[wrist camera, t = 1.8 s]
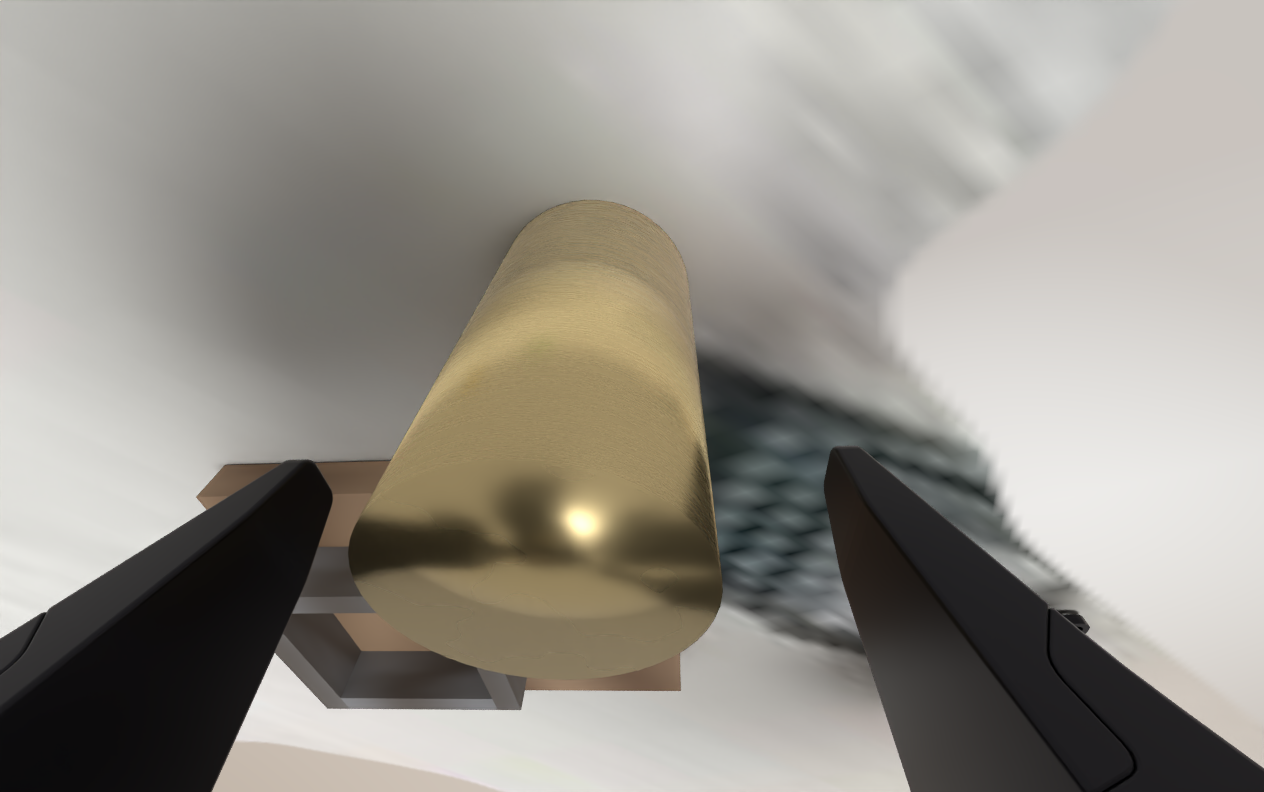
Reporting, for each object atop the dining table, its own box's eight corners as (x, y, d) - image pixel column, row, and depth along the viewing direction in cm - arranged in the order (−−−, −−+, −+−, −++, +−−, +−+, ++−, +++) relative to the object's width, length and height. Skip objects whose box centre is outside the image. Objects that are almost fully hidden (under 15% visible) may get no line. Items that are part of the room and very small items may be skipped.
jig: (674, 453, 18) (677, 539, 15) (679, 659, 26) (682, 738, 24) (225, 465, 19) (151, 546, 16) (368, 658, 27) (336, 734, 25)
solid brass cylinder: (688, 193, 13) (731, 456, 6) (689, 366, 16) (717, 680, 9) (483, 205, 13) (276, 468, 6) (522, 372, 16) (417, 678, 9)
